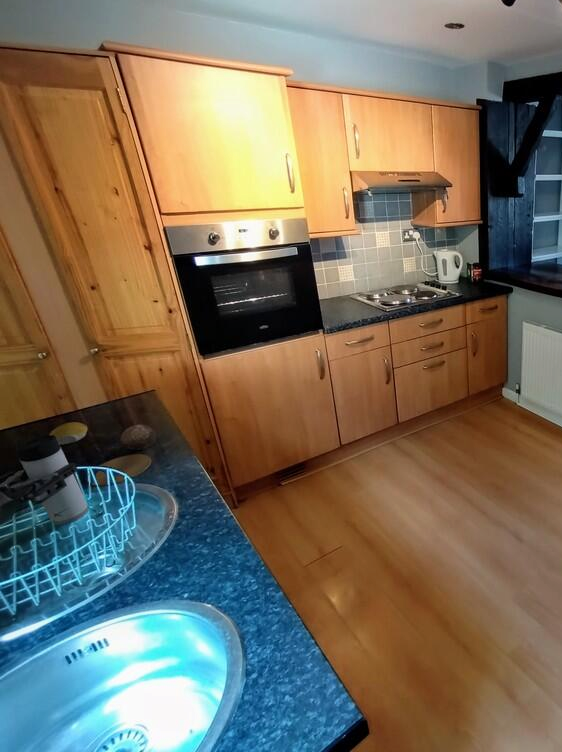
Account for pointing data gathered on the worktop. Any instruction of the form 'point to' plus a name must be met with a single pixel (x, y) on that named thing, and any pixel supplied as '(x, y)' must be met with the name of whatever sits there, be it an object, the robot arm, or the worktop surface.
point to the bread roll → (69, 432)
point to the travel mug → (44, 461)
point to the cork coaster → (124, 467)
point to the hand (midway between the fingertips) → (60, 465)
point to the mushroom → (138, 437)
